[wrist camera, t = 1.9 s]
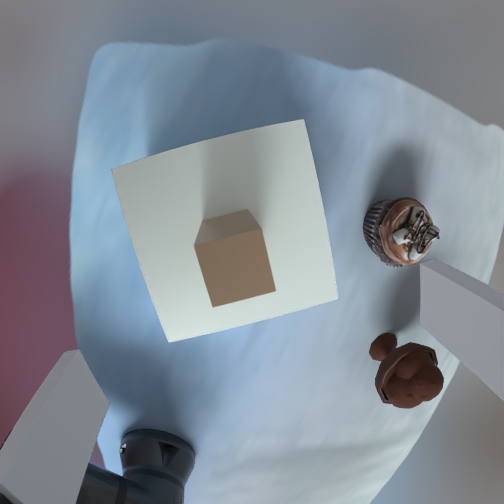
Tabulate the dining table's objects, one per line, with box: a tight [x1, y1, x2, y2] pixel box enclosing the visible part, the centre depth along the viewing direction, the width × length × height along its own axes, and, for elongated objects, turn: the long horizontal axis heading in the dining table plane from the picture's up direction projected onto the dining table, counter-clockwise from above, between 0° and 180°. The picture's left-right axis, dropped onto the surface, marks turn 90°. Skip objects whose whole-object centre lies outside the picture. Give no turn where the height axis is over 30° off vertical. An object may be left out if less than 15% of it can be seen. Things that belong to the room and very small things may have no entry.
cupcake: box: [363, 197, 440, 267], centre depth 38 cm, size 10×10×10 cm
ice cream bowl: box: [369, 333, 444, 408], centre depth 41 cm, size 11×11×15 cm
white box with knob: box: [111, 119, 338, 342], centre depth 29 cm, size 17×17×22 cm
